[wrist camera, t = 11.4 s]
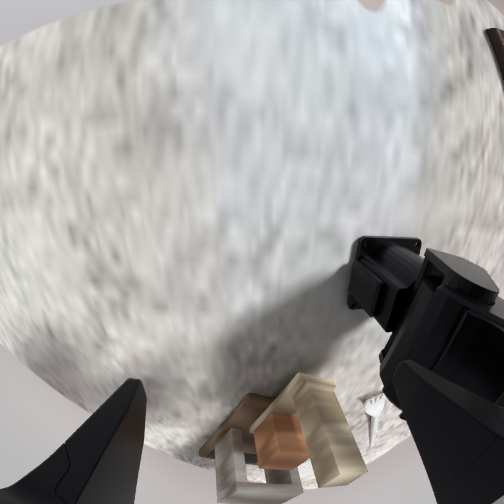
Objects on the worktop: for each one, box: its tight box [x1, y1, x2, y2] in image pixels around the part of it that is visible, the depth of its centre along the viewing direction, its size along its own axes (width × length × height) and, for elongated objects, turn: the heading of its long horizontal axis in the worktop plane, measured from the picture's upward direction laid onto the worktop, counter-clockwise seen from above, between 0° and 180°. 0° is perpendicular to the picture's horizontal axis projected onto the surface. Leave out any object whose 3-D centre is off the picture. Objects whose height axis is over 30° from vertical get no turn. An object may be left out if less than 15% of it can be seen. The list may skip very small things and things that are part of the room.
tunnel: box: [199, 393, 303, 504], centre depth 24 cm, size 14×9×9 cm, turn 152°
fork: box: [364, 393, 386, 448], centre depth 31 cm, size 3×20×2 cm, turn 17°
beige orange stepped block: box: [249, 372, 368, 488], centre depth 20 cm, size 10×4×11 cm, turn 152°
